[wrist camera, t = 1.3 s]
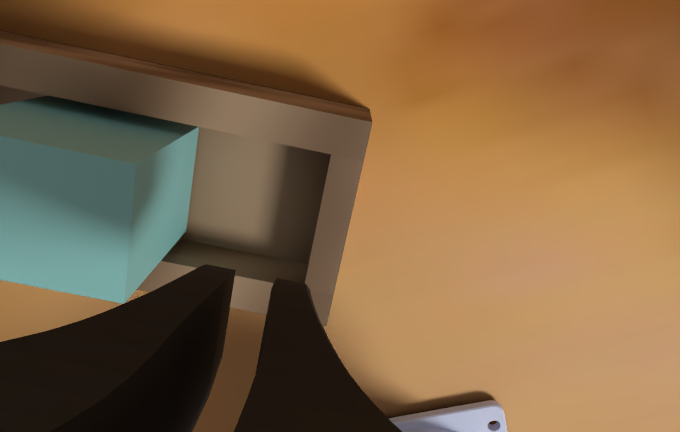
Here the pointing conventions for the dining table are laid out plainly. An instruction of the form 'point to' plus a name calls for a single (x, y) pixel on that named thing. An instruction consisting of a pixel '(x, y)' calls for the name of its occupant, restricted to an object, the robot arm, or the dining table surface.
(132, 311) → the robot arm
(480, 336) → the dining table surface
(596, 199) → the dining table surface
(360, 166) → the wooden tray
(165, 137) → the teal block
